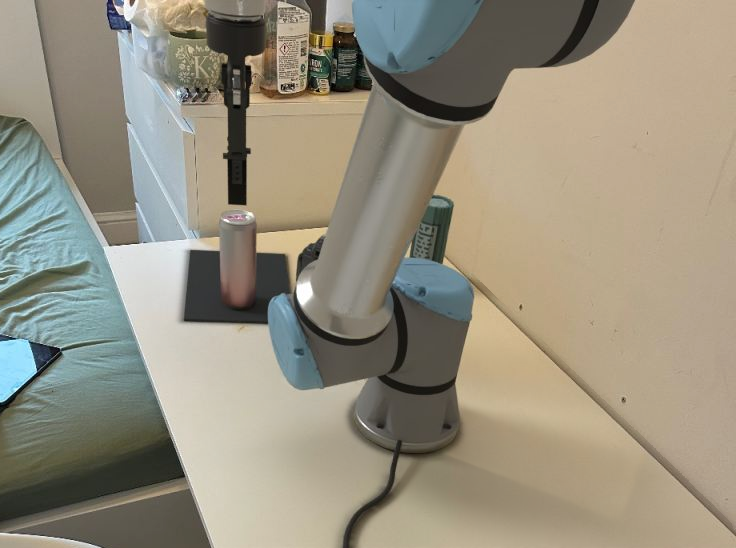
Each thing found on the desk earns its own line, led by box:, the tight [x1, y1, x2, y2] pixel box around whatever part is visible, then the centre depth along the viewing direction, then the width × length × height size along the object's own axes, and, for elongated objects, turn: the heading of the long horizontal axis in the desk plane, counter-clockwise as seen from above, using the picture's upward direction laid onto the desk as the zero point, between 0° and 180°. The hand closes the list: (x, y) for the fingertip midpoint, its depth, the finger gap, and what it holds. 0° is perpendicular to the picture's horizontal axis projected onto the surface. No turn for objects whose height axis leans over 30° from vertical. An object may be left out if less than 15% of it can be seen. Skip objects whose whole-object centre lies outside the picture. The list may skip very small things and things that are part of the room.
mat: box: [183, 249, 290, 324], centre depth 132 cm, size 26×18×1 cm
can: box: [408, 194, 455, 265], centre depth 136 cm, size 6×6×15 cm
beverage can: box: [218, 208, 258, 310], centre depth 122 cm, size 6×6×15 cm
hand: (237, 202), depth 109 cm, fingers closed
